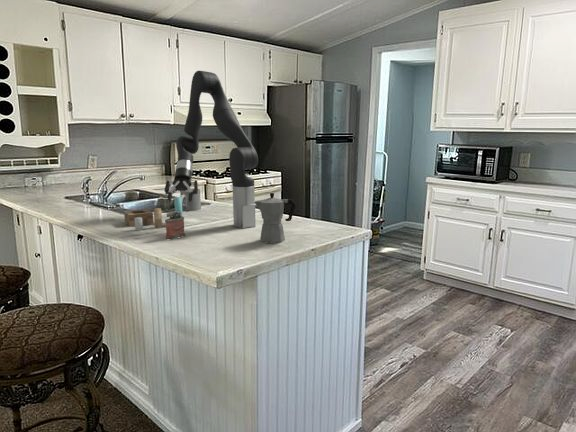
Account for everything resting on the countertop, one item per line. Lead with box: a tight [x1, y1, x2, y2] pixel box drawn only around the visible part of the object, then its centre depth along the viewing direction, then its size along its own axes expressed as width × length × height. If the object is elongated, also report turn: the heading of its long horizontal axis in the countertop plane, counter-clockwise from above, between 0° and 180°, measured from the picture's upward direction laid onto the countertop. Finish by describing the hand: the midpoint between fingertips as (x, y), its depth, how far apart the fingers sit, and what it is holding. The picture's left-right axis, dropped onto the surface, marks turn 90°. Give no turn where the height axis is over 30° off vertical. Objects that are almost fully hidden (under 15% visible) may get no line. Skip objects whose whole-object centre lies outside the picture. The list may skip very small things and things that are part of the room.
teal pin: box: [174, 196, 184, 217], centre depth 186 cm, size 3×3×12 cm
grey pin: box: [134, 217, 144, 232], centre depth 178 cm, size 3×3×5 cm
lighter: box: [164, 210, 186, 240], centre depth 165 cm, size 8×3×10 cm, turn 141°
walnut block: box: [123, 208, 155, 228], centre depth 190 cm, size 10×10×5 cm
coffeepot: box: [254, 192, 297, 244], centre depth 159 cm, size 15×9×18 cm, turn 90°
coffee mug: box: [179, 187, 202, 212], centre depth 220 cm, size 13×10×10 cm
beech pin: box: [153, 207, 163, 229], centre depth 182 cm, size 3×3×8 cm
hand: (179, 201), depth 188 cm, fingers open, 8 cm apart
